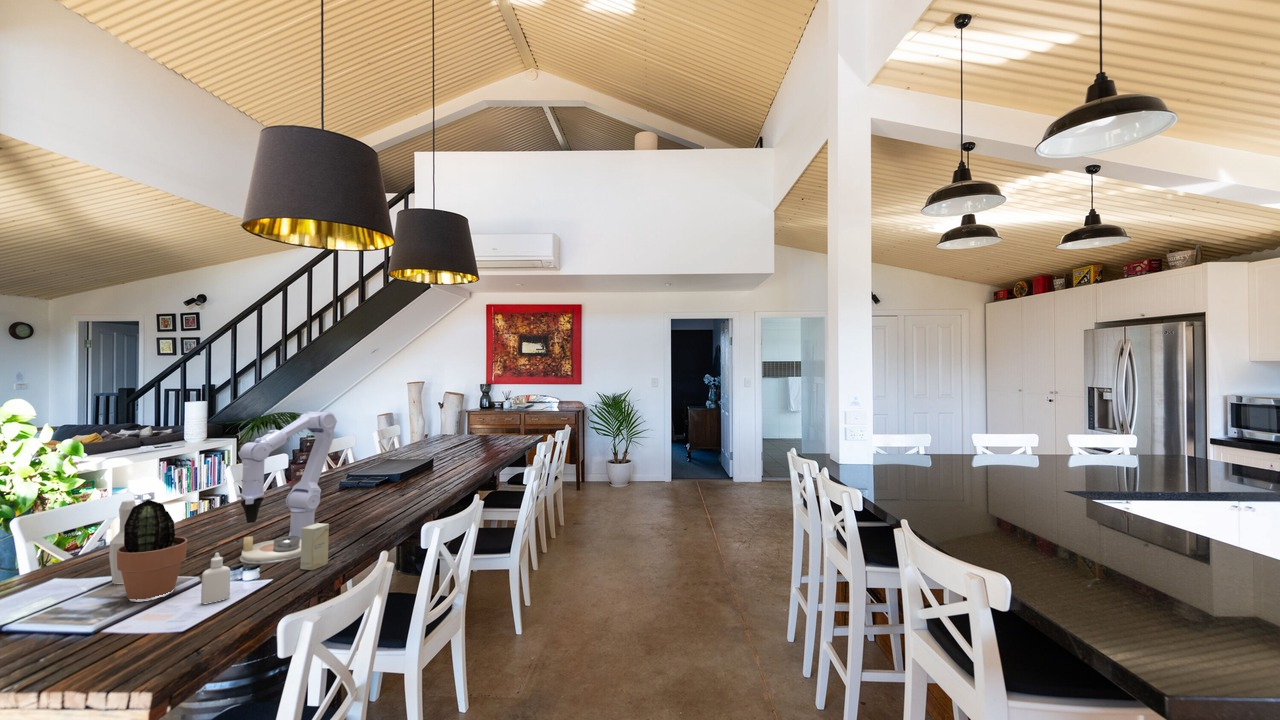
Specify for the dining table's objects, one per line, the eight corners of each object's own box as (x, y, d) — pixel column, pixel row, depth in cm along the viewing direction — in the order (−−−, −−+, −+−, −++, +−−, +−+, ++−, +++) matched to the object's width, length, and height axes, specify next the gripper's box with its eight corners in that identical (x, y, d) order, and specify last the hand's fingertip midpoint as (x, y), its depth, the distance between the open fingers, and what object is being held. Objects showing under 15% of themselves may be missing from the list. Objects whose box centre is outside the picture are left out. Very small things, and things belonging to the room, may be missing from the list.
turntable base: (244, 549, 177) (244, 547, 177) (312, 541, 187) (312, 540, 187) (234, 568, 161) (234, 566, 161) (309, 558, 170) (309, 556, 170)
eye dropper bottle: (205, 598, 139) (207, 551, 140) (231, 595, 141) (233, 549, 141) (198, 605, 135) (200, 556, 135) (225, 602, 137) (227, 554, 137)
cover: (274, 546, 173) (274, 537, 173) (300, 544, 177) (300, 534, 177) (272, 553, 167) (272, 543, 167) (298, 550, 171) (299, 540, 171)
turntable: (246, 547, 177) (246, 530, 177) (310, 540, 186) (311, 523, 186) (237, 565, 161) (237, 546, 162) (308, 556, 170) (308, 538, 170)
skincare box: (312, 570, 160) (313, 529, 160) (299, 569, 161) (300, 528, 161) (328, 563, 166) (329, 523, 166) (316, 562, 167) (317, 522, 167)
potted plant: (194, 592, 143) (198, 496, 144) (126, 611, 131) (130, 507, 132) (172, 581, 150) (176, 490, 151) (105, 598, 138) (110, 499, 139)
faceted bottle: (120, 587, 146) (124, 504, 146) (102, 584, 147) (105, 502, 147) (146, 578, 152) (149, 499, 152) (128, 576, 153) (131, 497, 154)
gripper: (241, 476, 181) (240, 517, 180) (234, 484, 168) (232, 529, 168) (267, 475, 184) (265, 515, 184) (261, 483, 171) (260, 526, 171)
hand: (251, 521), depth 176 cm, fingers closed
